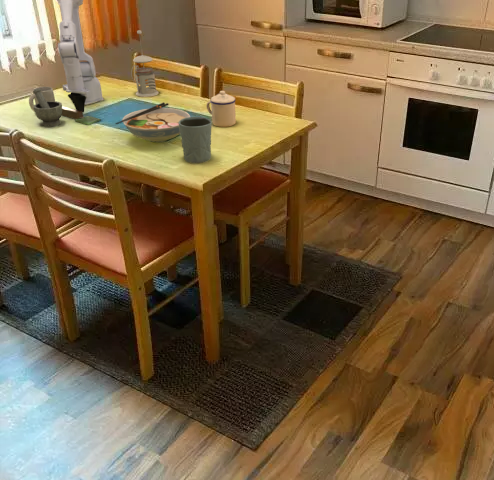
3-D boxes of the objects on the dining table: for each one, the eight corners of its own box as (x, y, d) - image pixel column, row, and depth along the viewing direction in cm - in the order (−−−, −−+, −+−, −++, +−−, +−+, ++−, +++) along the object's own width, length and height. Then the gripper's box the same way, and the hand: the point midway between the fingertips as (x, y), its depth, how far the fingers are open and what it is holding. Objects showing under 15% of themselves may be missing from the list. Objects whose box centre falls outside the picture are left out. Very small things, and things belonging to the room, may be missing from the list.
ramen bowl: (158, 157, 188) (155, 132, 183) (108, 143, 198) (104, 119, 193) (207, 134, 205) (205, 111, 201) (158, 122, 215) (156, 100, 211)
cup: (61, 112, 225) (56, 88, 220) (37, 118, 218) (31, 94, 213) (51, 108, 229) (46, 85, 224) (27, 114, 222) (21, 90, 217)
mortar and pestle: (70, 123, 214) (64, 90, 208) (48, 130, 208) (40, 96, 201) (52, 117, 220) (45, 84, 213) (30, 123, 214) (22, 90, 207)
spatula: (55, 116, 221) (54, 109, 219) (68, 112, 225) (66, 104, 223) (88, 125, 213) (86, 117, 211) (100, 120, 217) (99, 113, 215)
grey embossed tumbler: (176, 161, 185) (172, 124, 178) (191, 150, 193) (188, 114, 186) (204, 166, 182) (201, 128, 175) (219, 154, 190) (217, 118, 183)
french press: (163, 92, 248) (156, 29, 234) (144, 99, 240) (136, 34, 226) (146, 88, 252) (139, 27, 238) (127, 95, 244) (117, 31, 230)
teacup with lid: (241, 121, 217) (240, 90, 210) (226, 128, 210) (225, 96, 204) (215, 116, 222) (213, 85, 215) (200, 123, 215) (198, 91, 209)
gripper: (52, 74, 214) (60, 111, 221) (76, 81, 206) (83, 119, 214) (69, 70, 218) (76, 107, 226) (93, 77, 211) (99, 114, 218)
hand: (80, 112), depth 220 cm, fingers closed, pressing on spatula
